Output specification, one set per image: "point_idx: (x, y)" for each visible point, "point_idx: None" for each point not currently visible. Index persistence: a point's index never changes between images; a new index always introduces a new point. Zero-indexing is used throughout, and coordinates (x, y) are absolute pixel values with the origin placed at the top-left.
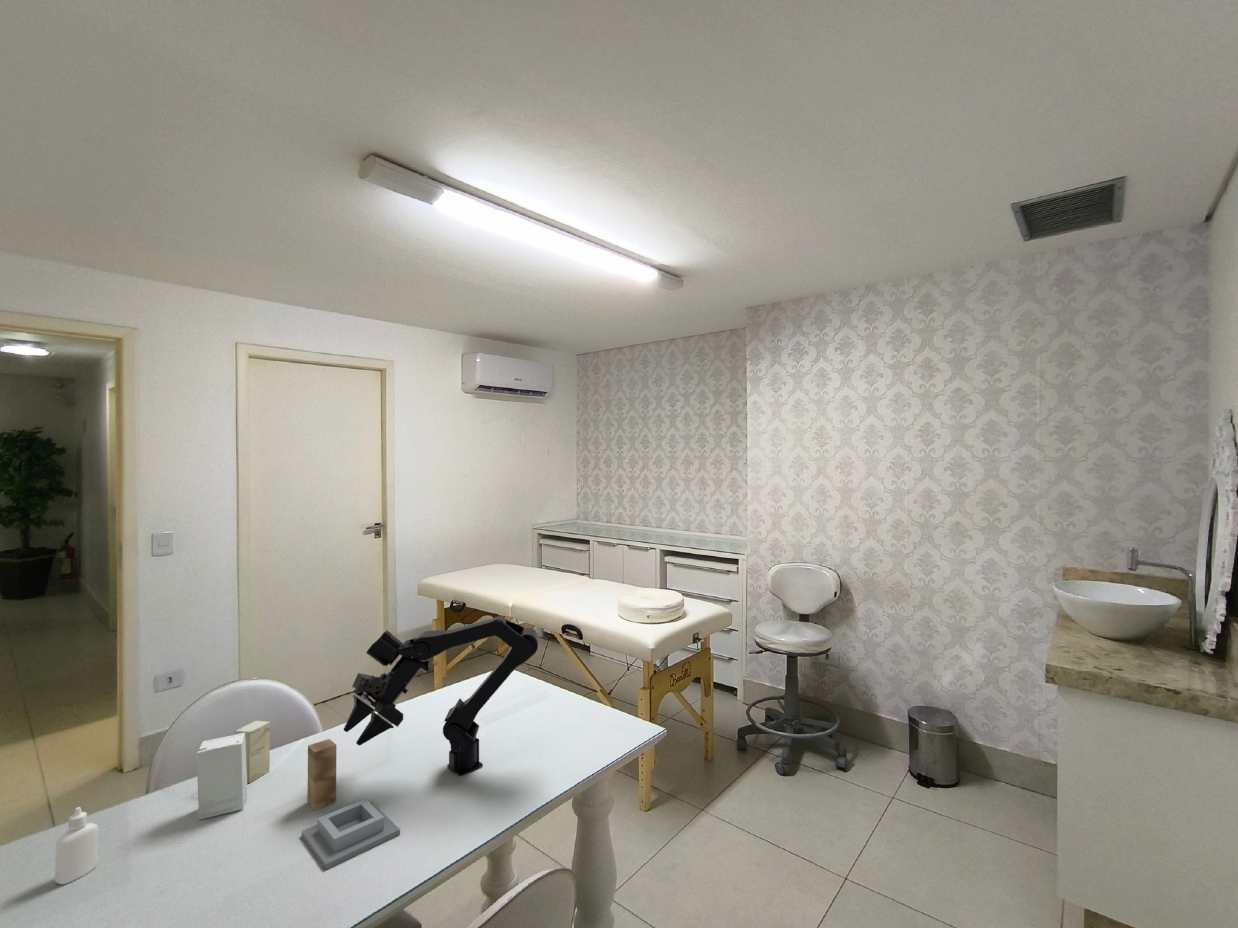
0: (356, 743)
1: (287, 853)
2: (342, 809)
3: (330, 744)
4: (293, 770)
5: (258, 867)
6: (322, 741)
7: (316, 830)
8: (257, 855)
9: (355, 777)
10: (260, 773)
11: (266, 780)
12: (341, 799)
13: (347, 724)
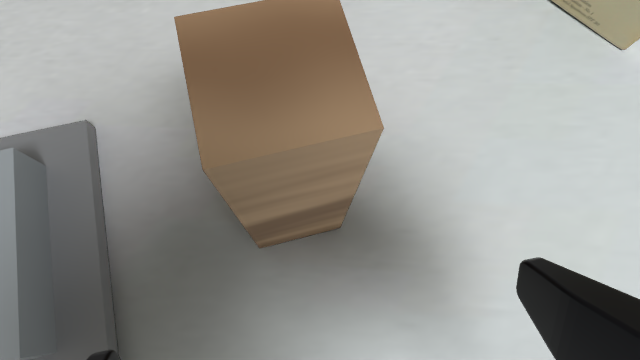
0: (104, 351)
1: (24, 90)
2: (4, 245)
3: (252, 127)
4: (598, 120)
5: (14, 25)
6: (352, 77)
7: (52, 164)
8: (80, 23)
9: (429, 344)
10: (595, 20)
11: (551, 43)
12: (263, 269)
13: (564, 294)
